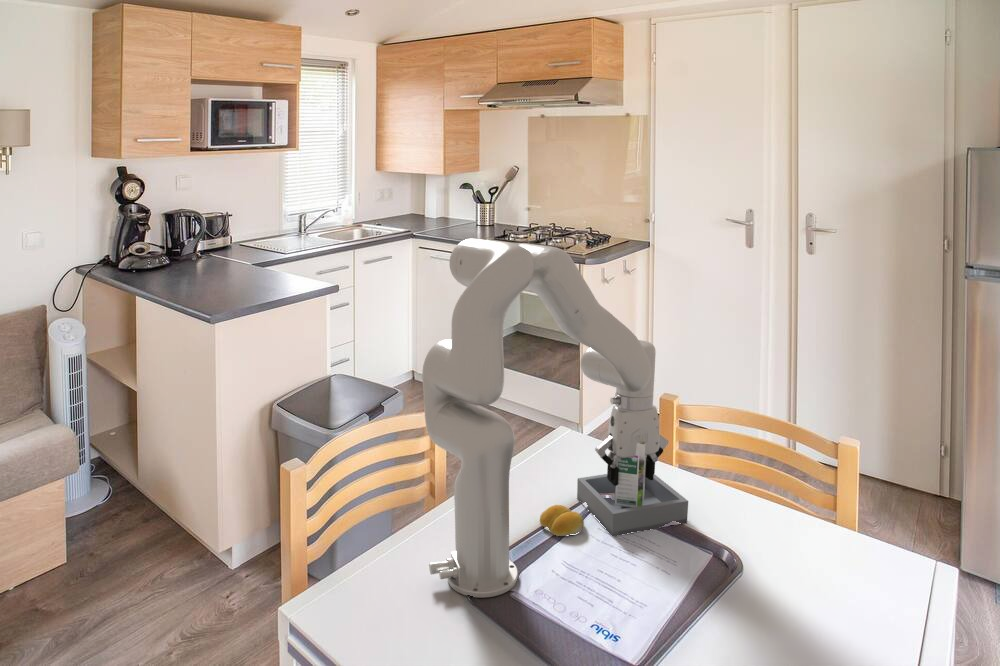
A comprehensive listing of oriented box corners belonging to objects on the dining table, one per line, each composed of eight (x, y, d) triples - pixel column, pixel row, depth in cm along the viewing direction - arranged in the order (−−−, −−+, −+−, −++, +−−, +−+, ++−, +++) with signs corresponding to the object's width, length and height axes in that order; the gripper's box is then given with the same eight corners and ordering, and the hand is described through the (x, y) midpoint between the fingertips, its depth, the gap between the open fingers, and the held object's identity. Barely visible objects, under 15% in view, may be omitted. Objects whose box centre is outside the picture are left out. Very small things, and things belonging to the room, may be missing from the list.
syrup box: (614, 505, 149) (616, 440, 145) (618, 493, 154) (620, 430, 151) (641, 509, 147) (644, 444, 144) (644, 497, 152) (647, 433, 149)
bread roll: (564, 543, 139) (565, 524, 138) (533, 526, 146) (533, 508, 145) (593, 529, 144) (593, 511, 143) (561, 513, 151) (561, 495, 150)
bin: (612, 536, 141) (613, 513, 140) (577, 499, 156) (577, 478, 155) (686, 523, 146) (688, 501, 145) (645, 488, 162) (646, 467, 160)
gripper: (604, 411, 139) (601, 493, 143) (681, 402, 144) (676, 482, 149) (587, 399, 146) (585, 478, 150) (662, 391, 151) (658, 467, 155)
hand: (630, 479), depth 149 cm, fingers closed on syrup box, 7 cm apart
